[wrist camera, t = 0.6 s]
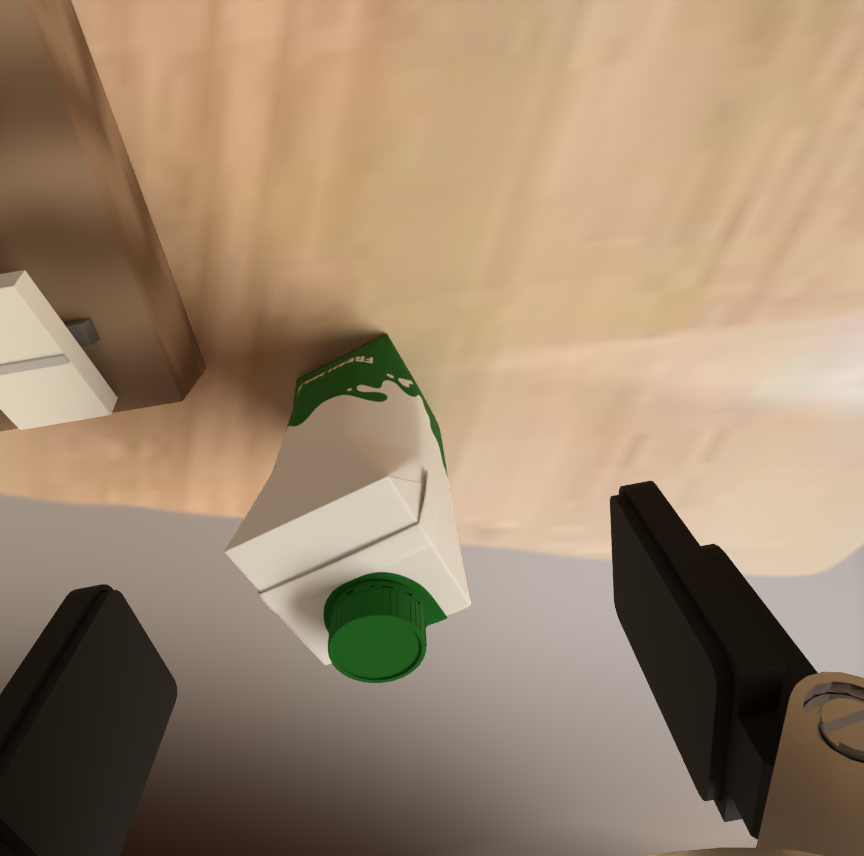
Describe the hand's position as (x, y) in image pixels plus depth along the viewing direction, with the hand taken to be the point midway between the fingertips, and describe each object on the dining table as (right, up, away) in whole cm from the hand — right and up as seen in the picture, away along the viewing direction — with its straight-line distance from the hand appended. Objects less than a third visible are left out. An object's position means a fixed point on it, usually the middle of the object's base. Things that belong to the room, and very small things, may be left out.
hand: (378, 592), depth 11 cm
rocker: (-20, +7, +19) cm, 29 cm away
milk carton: (-3, +5, +29) cm, 30 cm away
